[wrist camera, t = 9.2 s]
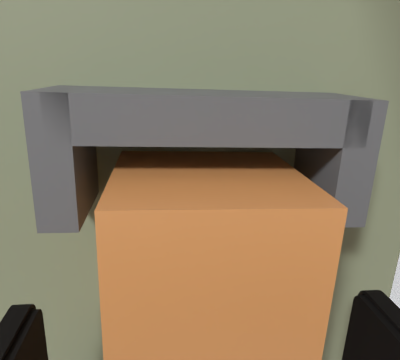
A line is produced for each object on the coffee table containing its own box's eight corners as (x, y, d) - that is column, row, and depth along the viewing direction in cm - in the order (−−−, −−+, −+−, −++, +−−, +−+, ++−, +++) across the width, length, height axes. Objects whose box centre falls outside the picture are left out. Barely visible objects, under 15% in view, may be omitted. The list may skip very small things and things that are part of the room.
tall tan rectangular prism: (121, 150, 11) (94, 211, 6) (272, 152, 12) (348, 208, 7) (129, 390, 14) (115, 551, 10) (249, 382, 15) (292, 529, 10)
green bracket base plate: (-65, -24, 11) (-218, -87, 6) (424, 5, 12) (563, -28, 8) (18, 452, 17) (-32, 586, 12) (338, 424, 18) (392, 532, 14)
